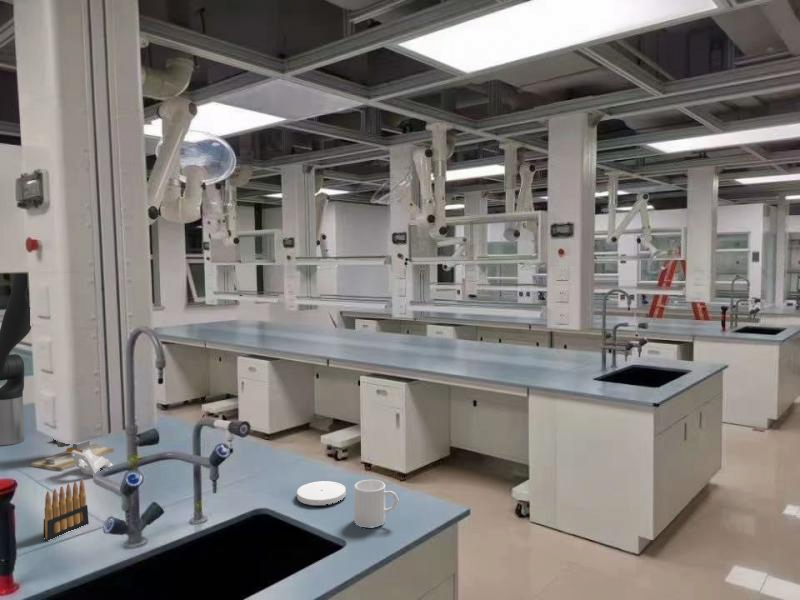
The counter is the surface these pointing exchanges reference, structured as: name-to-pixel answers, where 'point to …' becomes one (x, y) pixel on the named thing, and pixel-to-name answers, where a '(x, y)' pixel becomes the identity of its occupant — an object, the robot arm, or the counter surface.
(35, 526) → the counter surface
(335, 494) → the plastic lid
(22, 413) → the robot arm
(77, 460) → the mounting bracket
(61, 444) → the block
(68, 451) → the block
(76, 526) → the ammunition clip
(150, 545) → the counter surface
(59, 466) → the rail board
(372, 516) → the mug
